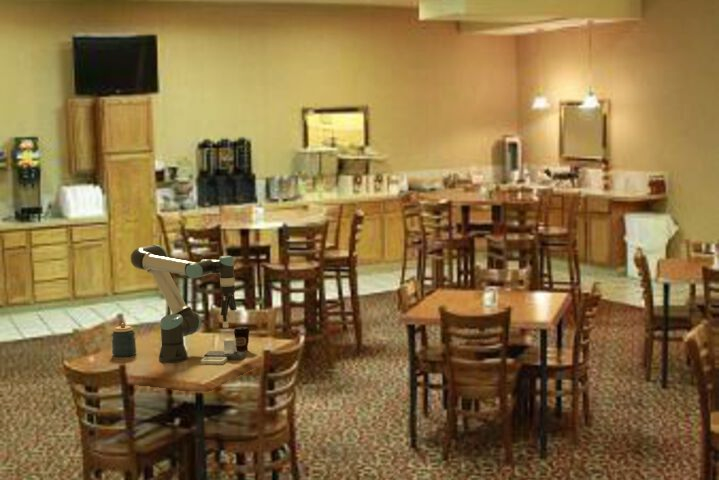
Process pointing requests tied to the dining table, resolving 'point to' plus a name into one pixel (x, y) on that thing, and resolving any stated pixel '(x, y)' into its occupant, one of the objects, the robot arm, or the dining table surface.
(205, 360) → the parts tray
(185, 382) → the dining table surface
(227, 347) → the nut block
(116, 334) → the canister
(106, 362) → the dining table surface
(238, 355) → the grey flat slab
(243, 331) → the coffee cup
